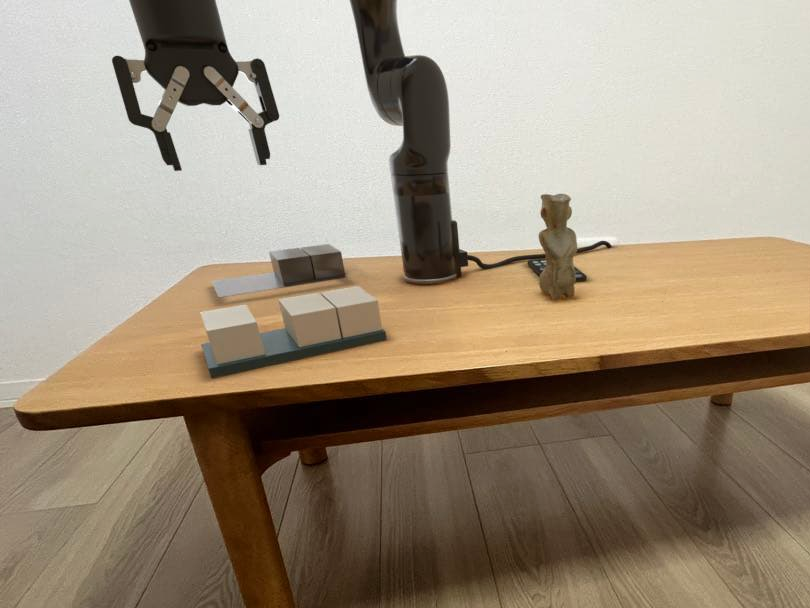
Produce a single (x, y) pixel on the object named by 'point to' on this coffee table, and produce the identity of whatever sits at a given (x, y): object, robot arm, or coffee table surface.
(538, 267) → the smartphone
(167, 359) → the coffee table surface
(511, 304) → the coffee table surface
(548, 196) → the sculpture
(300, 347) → the teal base board
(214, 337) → the beige block
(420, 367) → the coffee table surface
